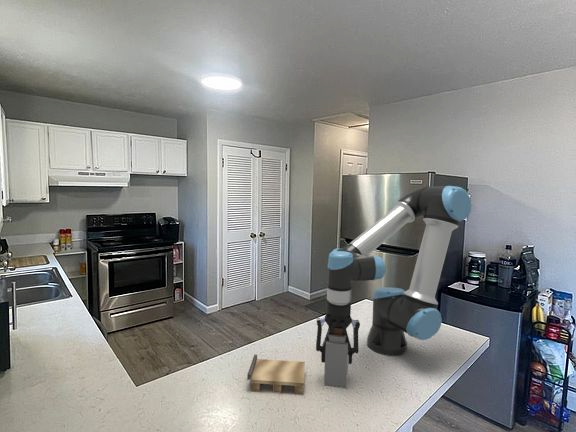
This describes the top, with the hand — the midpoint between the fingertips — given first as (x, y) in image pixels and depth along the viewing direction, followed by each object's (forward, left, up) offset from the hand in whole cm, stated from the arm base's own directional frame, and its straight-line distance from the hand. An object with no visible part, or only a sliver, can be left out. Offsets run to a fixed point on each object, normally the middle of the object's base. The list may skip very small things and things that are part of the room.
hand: (336, 372), depth 102 cm
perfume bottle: (0, 0, -3) cm, 3 cm away
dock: (+18, +2, -3) cm, 18 cm away
